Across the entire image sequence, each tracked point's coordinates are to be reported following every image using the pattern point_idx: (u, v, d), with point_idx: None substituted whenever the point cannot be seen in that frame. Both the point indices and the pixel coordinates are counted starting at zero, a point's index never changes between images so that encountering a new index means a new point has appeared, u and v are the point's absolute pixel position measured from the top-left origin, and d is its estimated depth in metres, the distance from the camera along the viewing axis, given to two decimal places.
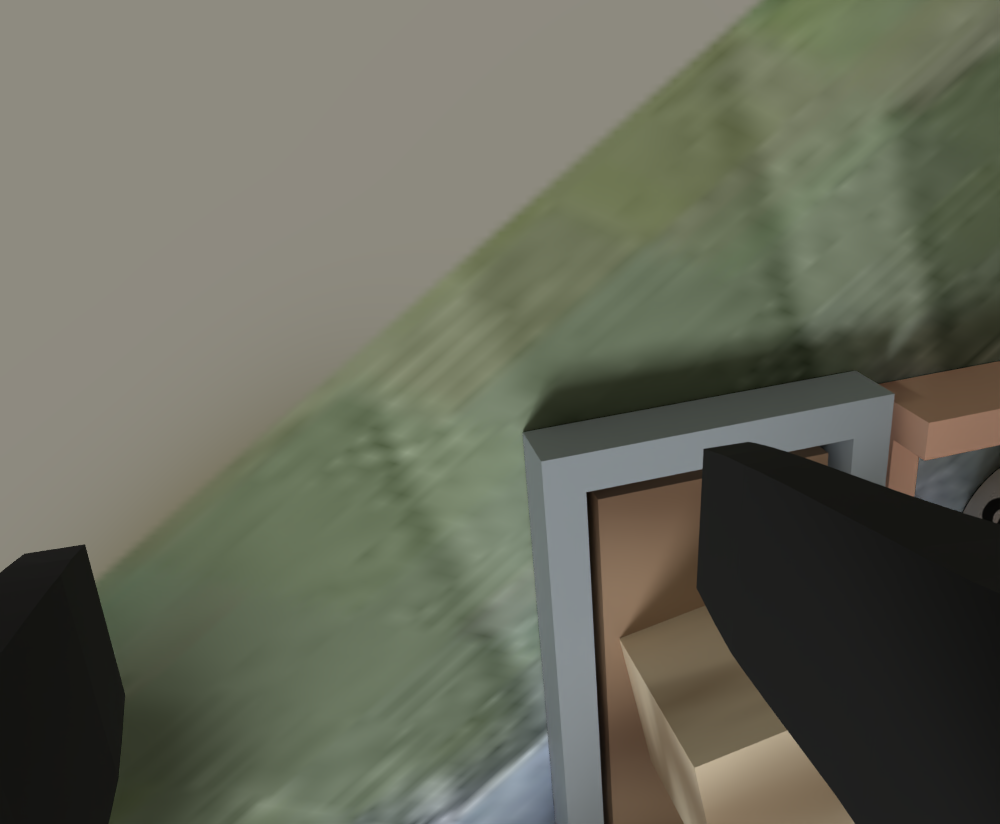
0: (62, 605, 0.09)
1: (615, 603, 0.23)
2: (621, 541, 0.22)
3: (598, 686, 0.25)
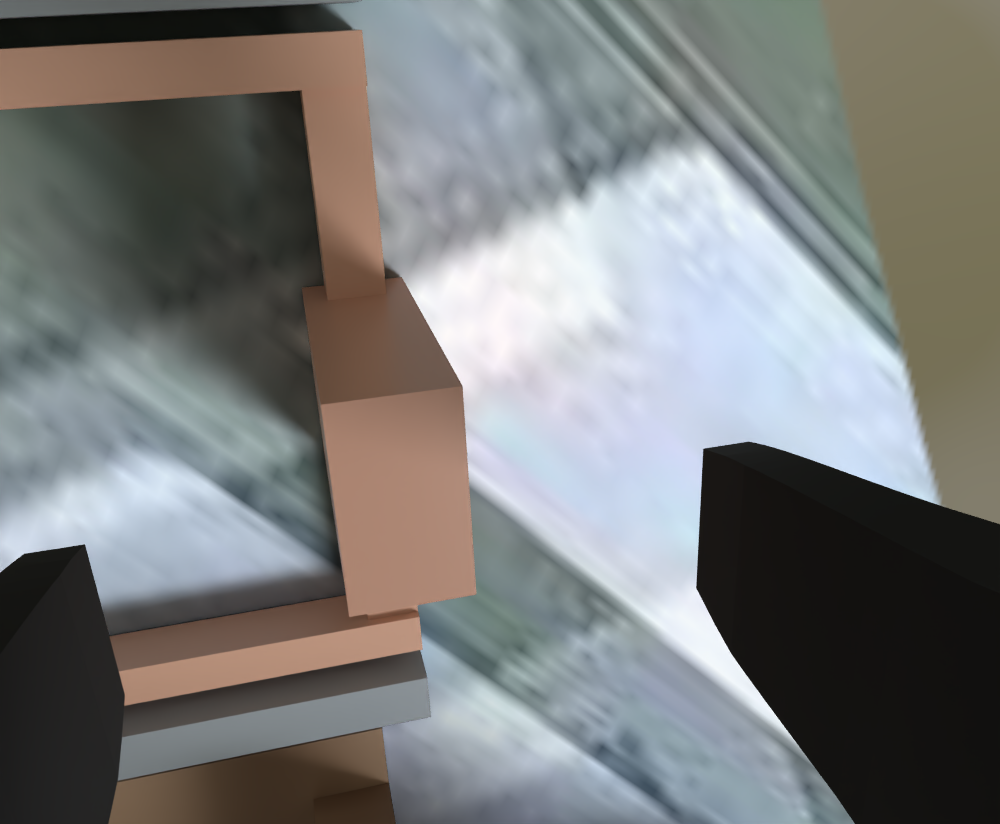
0: (61, 606, 0.09)
1: None
2: None
3: None
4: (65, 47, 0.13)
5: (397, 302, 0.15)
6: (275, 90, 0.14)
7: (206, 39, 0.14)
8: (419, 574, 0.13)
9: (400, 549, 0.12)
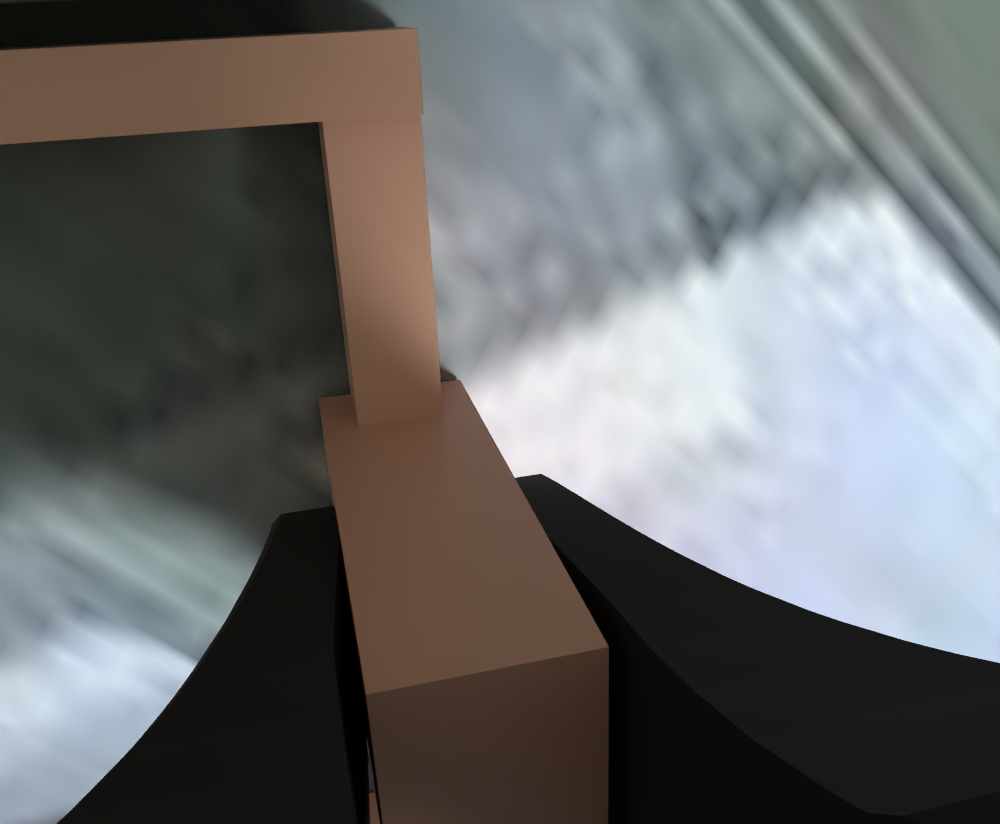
0: None
1: None
2: None
3: None
4: None
5: (462, 432, 0.10)
6: (282, 122, 0.09)
7: (173, 43, 0.09)
8: None
9: None
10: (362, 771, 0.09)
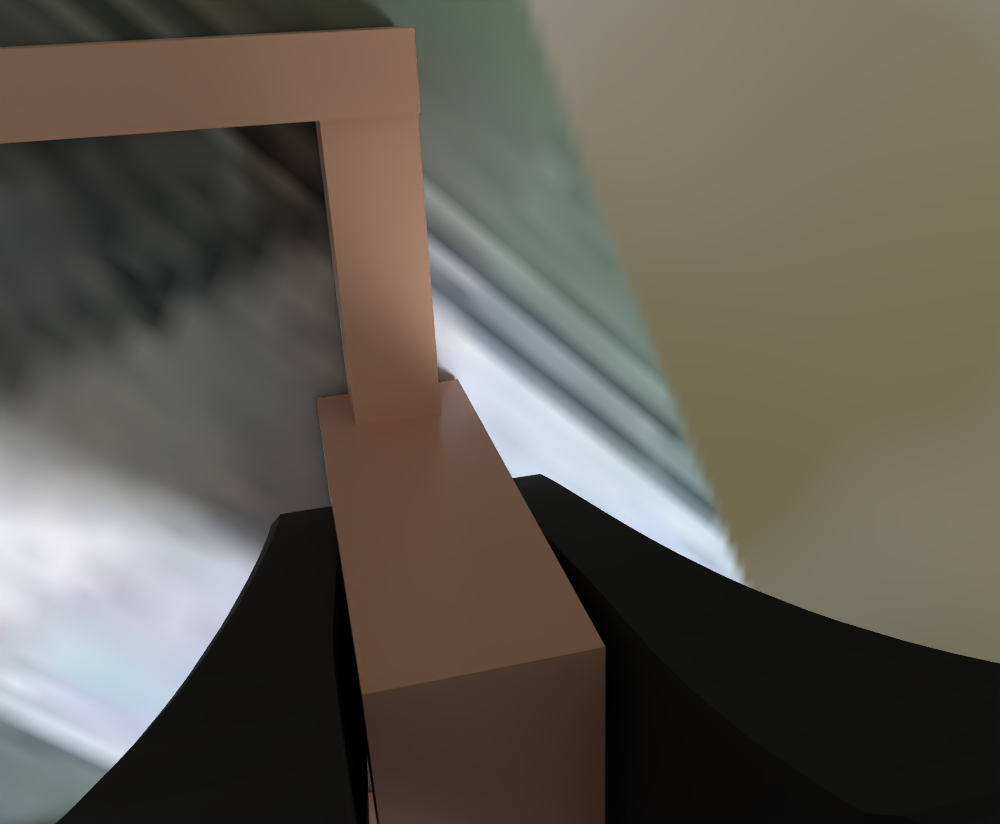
0: None
1: None
2: None
3: None
4: None
5: (459, 432, 0.10)
6: (279, 121, 0.09)
7: (169, 42, 0.08)
8: None
9: None
10: (361, 771, 0.09)
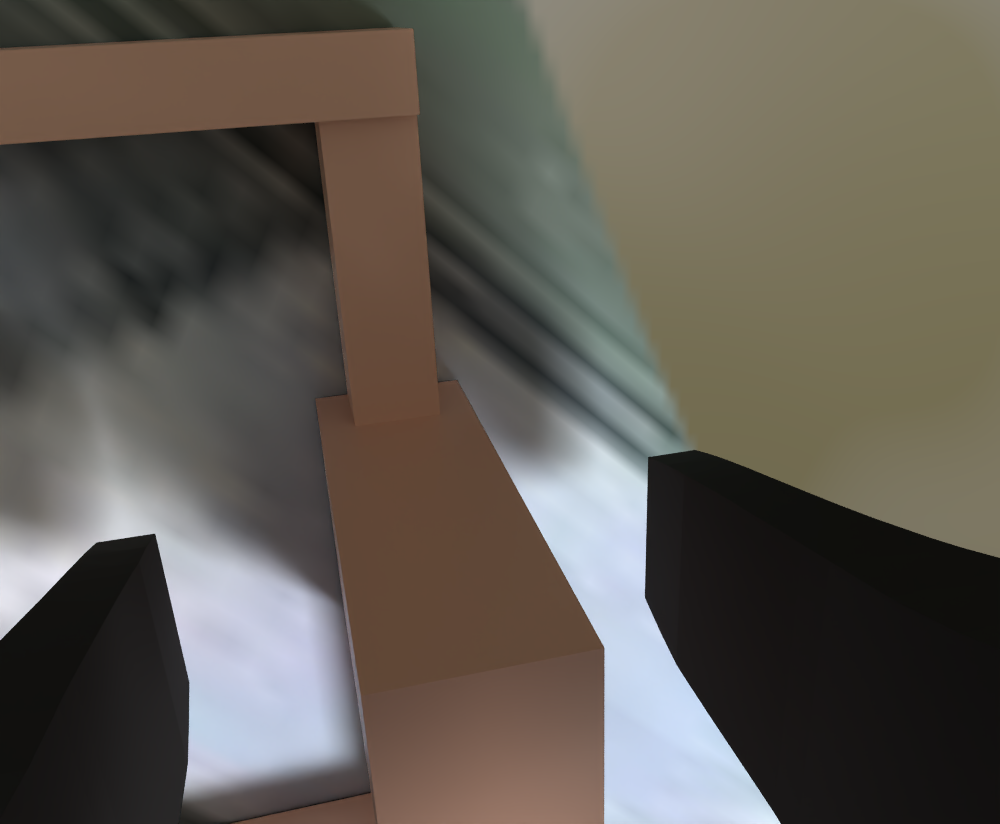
0: (142, 593, 0.09)
1: None
2: None
3: None
4: None
5: (458, 432, 0.10)
6: (278, 122, 0.09)
7: (168, 43, 0.08)
8: None
9: None
10: (154, 815, 0.08)
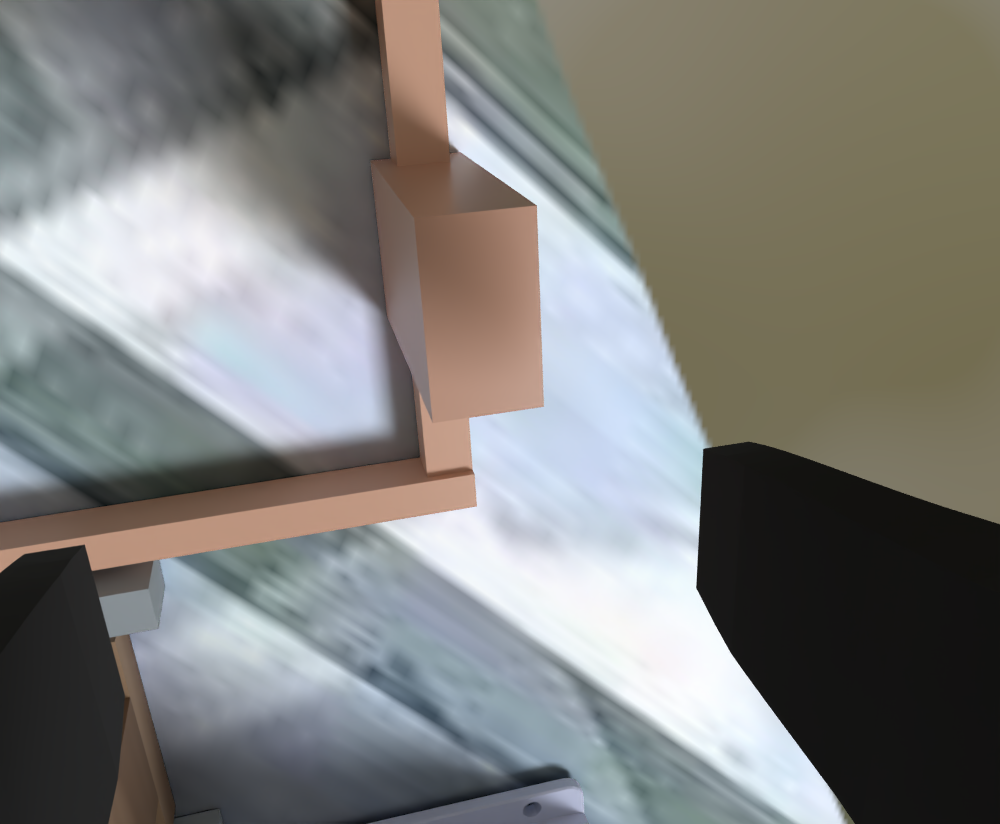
0: (61, 606, 0.09)
1: None
2: None
3: None
4: None
5: (461, 165, 0.17)
6: None
7: None
8: (494, 385, 0.14)
9: (479, 360, 0.14)
10: None
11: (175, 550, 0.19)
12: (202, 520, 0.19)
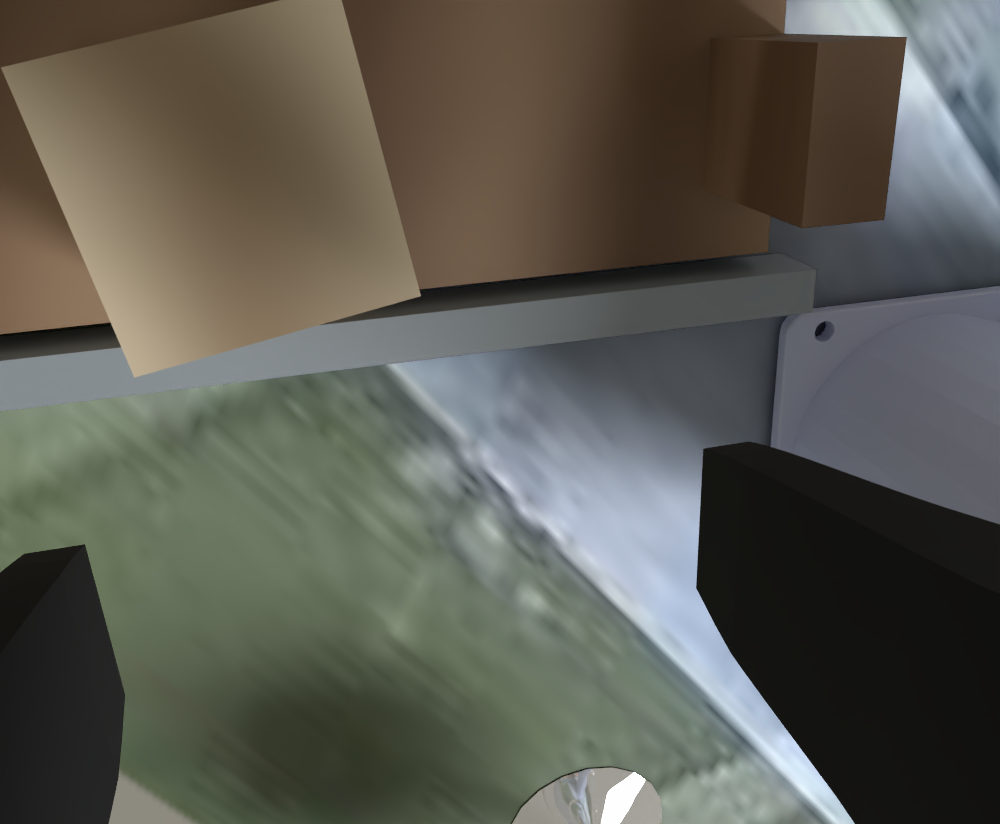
0: (62, 606, 0.09)
1: None
2: (3, 305, 0.17)
3: None
4: None
5: None
6: None
7: None
8: None
9: None
10: None
11: None
12: None
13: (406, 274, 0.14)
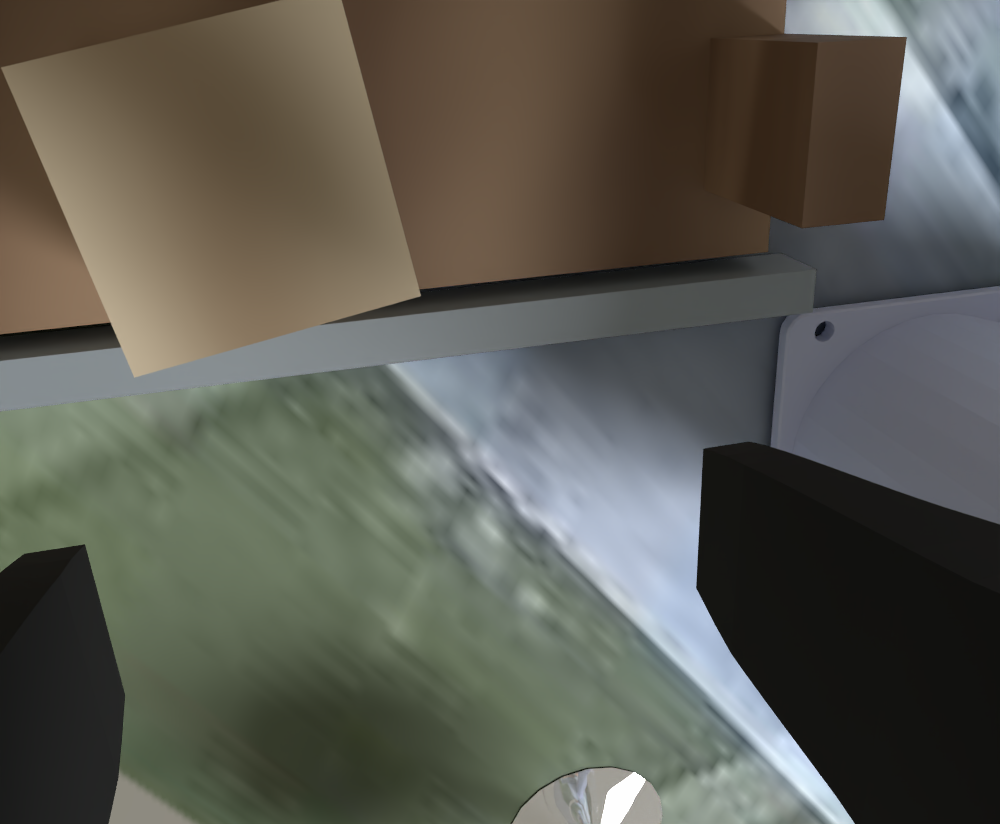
0: (62, 606, 0.09)
1: None
2: (3, 305, 0.17)
3: None
4: None
5: None
6: None
7: None
8: None
9: None
10: None
11: None
12: None
13: (406, 274, 0.14)
